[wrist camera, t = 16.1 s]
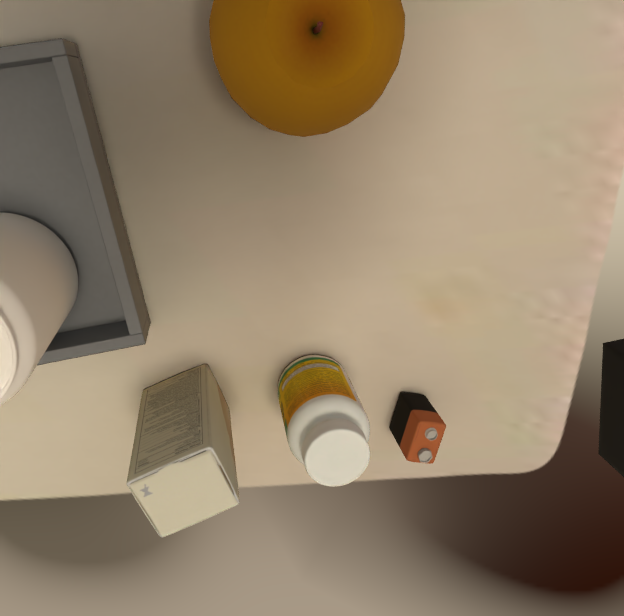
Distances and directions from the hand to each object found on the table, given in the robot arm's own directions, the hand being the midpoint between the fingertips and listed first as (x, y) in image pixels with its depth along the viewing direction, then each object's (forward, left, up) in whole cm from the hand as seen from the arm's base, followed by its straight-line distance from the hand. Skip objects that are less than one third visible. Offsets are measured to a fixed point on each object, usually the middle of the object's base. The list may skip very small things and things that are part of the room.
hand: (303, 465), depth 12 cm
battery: (+18, +10, -29) cm, 35 cm away
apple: (-9, +5, -29) cm, 31 cm away
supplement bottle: (+14, +3, -29) cm, 32 cm away
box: (+13, -6, -29) cm, 32 cm away
